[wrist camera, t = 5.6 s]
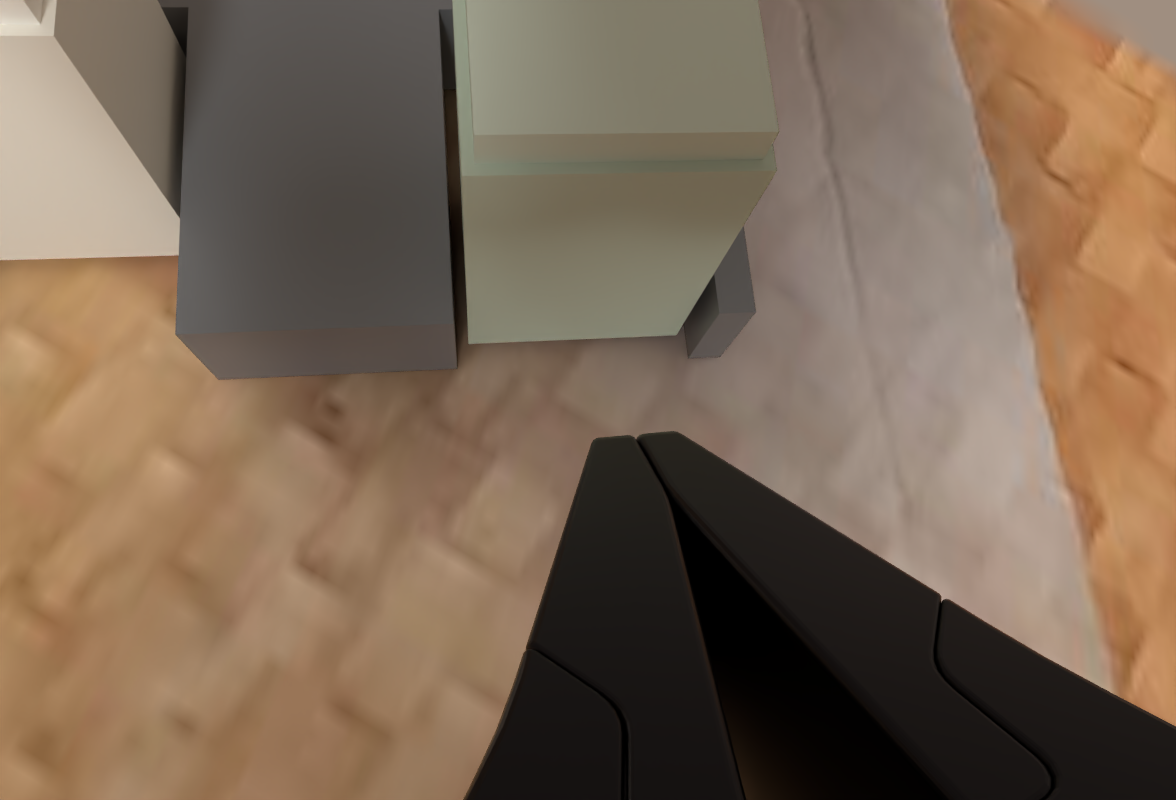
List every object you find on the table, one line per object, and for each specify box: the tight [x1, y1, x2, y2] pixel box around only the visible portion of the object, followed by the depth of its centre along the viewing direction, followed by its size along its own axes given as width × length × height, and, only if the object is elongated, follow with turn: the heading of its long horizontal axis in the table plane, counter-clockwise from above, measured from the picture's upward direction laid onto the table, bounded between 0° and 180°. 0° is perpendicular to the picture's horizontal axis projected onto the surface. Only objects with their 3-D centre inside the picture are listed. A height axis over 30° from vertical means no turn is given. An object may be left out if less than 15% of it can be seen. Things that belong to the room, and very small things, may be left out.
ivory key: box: [0, 0, 186, 260], centre depth 17 cm, size 4×5×8 cm
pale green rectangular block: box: [452, 0, 779, 344], centre depth 18 cm, size 4×5×8 cm
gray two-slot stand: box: [158, 0, 756, 380], centre depth 20 cm, size 9×18×3 cm, turn 95°
